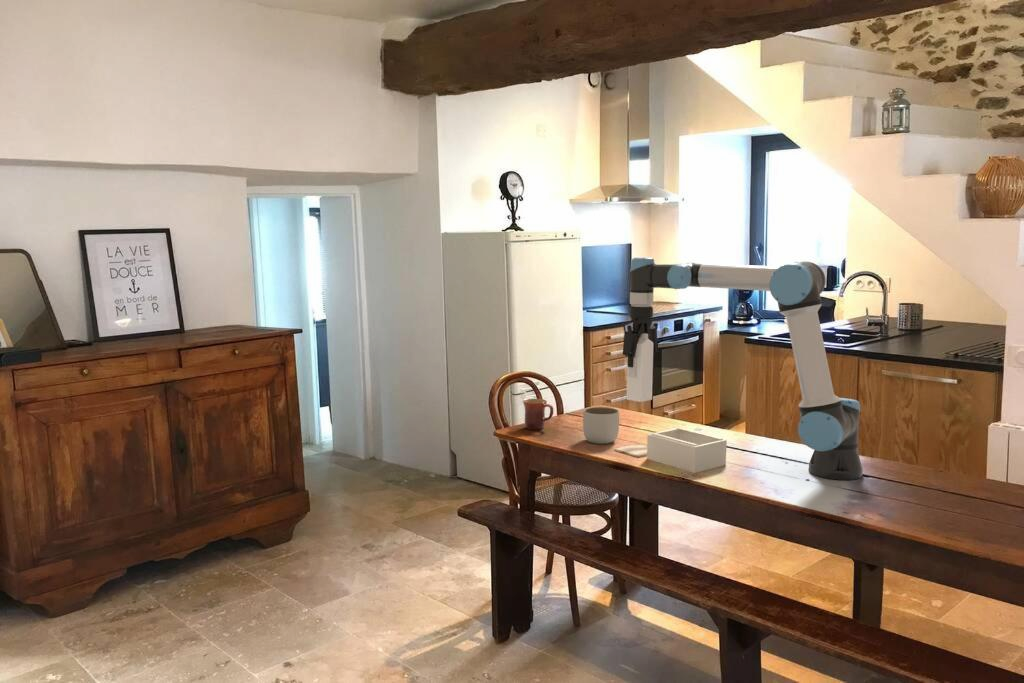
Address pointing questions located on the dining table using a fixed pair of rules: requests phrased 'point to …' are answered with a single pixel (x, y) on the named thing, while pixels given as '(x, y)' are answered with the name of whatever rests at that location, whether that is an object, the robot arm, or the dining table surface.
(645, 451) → the mat
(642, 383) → the milk
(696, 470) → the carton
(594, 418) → the planter
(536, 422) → the mug
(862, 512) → the dining table surface
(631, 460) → the dining table surface
